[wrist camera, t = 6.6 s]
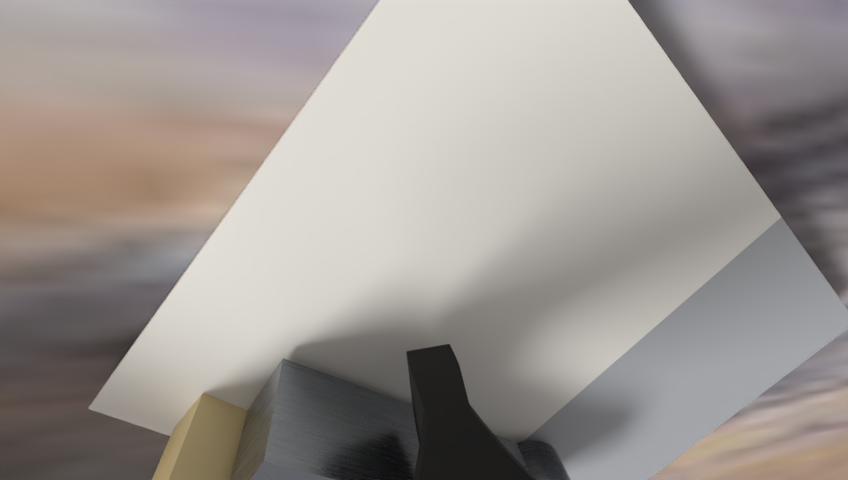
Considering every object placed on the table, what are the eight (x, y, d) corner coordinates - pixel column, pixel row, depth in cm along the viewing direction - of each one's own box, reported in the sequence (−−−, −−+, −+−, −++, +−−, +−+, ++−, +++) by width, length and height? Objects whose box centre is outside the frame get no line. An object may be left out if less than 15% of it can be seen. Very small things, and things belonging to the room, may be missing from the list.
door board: (820, 301, 15) (965, 383, 12) (531, 530, 19) (574, 646, 15) (482, -146, 8) (597, -295, 4) (111, 373, 11) (6, 527, 8)
